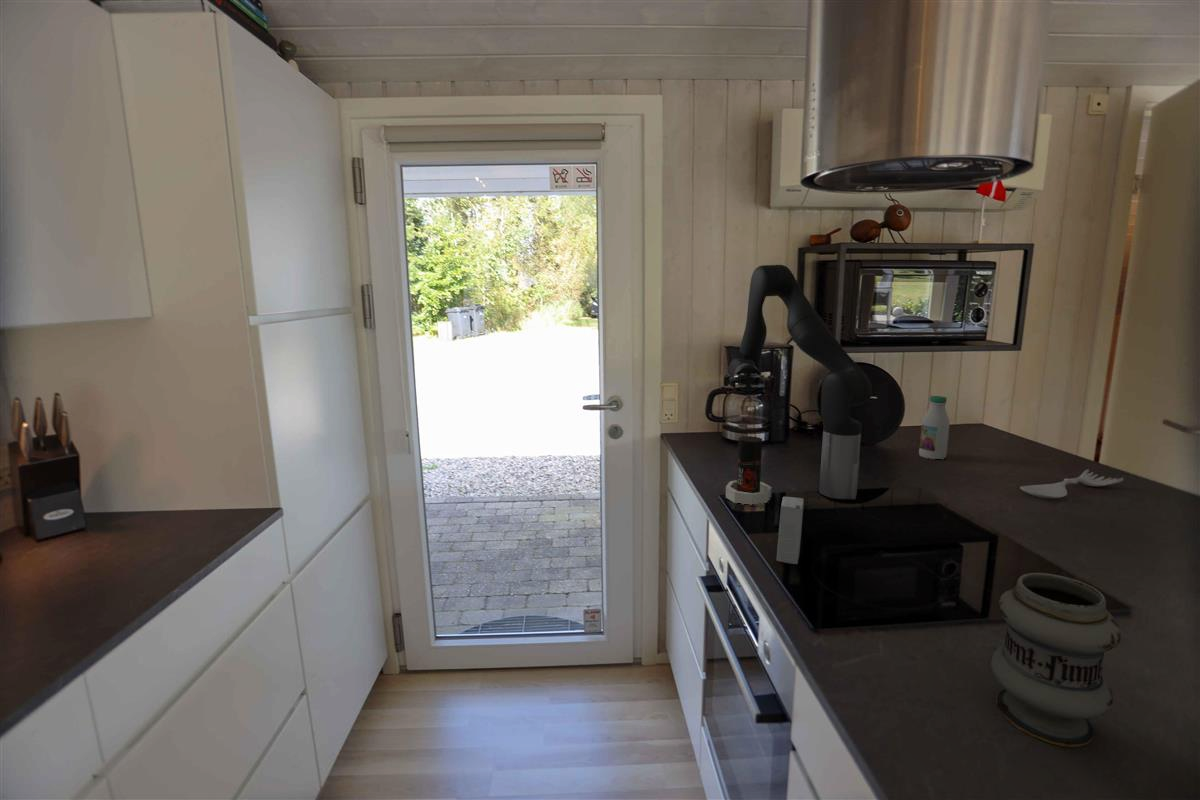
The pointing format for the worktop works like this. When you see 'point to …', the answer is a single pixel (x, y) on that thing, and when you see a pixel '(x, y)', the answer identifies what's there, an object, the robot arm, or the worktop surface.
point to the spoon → (1059, 488)
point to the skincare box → (790, 530)
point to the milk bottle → (935, 430)
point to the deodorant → (749, 464)
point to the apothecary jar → (1054, 658)
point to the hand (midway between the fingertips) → (750, 384)
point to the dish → (748, 494)
